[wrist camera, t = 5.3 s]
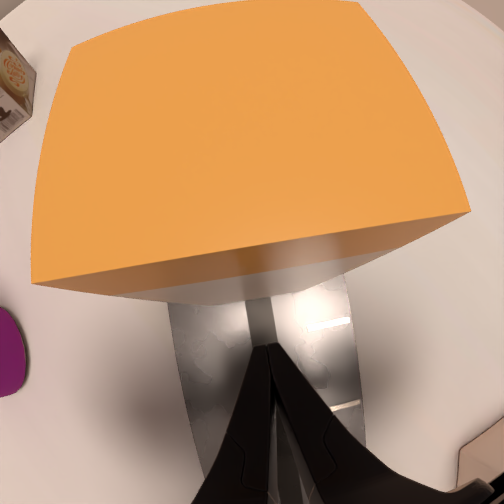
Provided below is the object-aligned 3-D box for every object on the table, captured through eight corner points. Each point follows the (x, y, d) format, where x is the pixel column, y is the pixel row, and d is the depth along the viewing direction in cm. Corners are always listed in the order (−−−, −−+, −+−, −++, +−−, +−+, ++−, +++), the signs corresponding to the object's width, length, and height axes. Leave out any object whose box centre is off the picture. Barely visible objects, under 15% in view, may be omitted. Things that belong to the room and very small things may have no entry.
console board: (360, 498, 14) (367, 510, 13) (225, 521, 14) (223, 535, 12) (323, 216, 18) (329, 206, 17) (167, 241, 18) (159, 235, 16)
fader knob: (304, 290, 15) (470, 211, 3) (210, 305, 15) (30, 284, 3) (290, 218, 16) (357, 2, 3) (200, 233, 16) (71, 47, 3)
